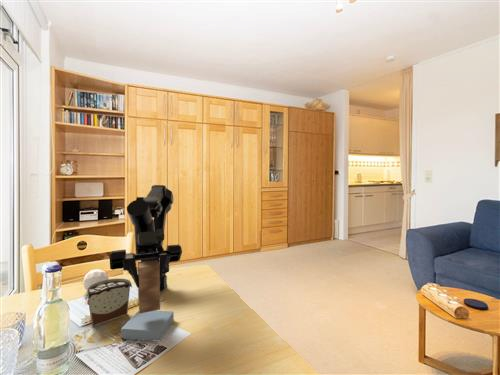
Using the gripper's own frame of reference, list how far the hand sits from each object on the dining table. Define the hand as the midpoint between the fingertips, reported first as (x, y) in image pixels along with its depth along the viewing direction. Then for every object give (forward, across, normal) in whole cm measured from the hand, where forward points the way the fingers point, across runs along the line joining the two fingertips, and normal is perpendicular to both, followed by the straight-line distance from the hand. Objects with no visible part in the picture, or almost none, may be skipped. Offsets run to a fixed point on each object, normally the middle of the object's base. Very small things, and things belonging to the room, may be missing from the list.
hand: (149, 285), depth 74 cm
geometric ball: (-15, -15, +33) cm, 39 cm away
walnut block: (+4, 0, +6) cm, 7 cm away
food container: (0, -11, +18) cm, 21 cm away
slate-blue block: (+8, 0, +10) cm, 13 cm away
